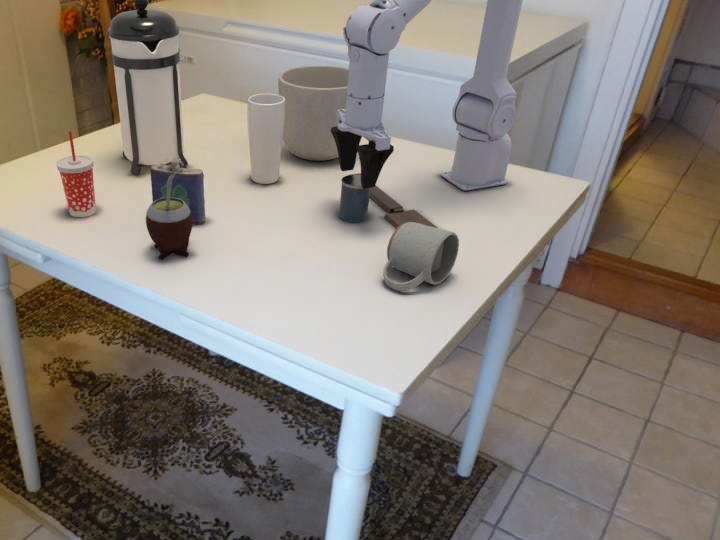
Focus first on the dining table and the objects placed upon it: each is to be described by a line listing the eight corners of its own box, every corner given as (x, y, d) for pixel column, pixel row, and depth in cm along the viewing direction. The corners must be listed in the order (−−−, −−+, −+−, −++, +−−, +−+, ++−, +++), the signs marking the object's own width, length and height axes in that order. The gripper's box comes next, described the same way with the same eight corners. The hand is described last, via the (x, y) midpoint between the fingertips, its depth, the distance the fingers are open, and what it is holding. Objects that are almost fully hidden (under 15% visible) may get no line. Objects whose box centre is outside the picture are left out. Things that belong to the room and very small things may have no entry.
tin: (359, 208, 119) (362, 172, 115) (372, 220, 116) (376, 183, 112) (333, 212, 118) (336, 176, 114) (346, 224, 114) (350, 187, 110)
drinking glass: (279, 188, 127) (282, 105, 117) (244, 185, 128) (244, 103, 119) (285, 174, 132) (288, 94, 123) (251, 171, 133) (251, 92, 124)
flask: (207, 219, 116) (204, 158, 110) (202, 226, 114) (198, 164, 108) (156, 213, 118) (151, 153, 112) (150, 220, 116) (144, 159, 110)
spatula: (366, 176, 130) (367, 171, 130) (440, 234, 111) (441, 228, 111) (340, 180, 129) (340, 175, 128) (410, 239, 110) (411, 234, 109)
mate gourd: (166, 237, 111) (159, 146, 102) (206, 248, 108) (203, 156, 99) (138, 256, 106) (128, 163, 97) (180, 269, 103) (173, 173, 94)
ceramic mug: (407, 255, 106) (414, 209, 101) (455, 273, 101) (464, 226, 96) (368, 282, 100) (373, 234, 95) (416, 302, 95) (424, 253, 90)
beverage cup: (66, 204, 121) (53, 126, 113) (101, 203, 122) (90, 124, 113) (62, 220, 116) (48, 138, 108) (99, 218, 117) (87, 137, 108)
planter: (261, 158, 138) (261, 80, 129) (300, 134, 150) (303, 60, 140) (337, 175, 131) (343, 93, 122) (371, 148, 143) (380, 71, 133)
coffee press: (209, 156, 139) (203, -8, 121) (161, 183, 129) (147, 7, 111) (143, 141, 147) (128, -16, 129) (93, 165, 136) (69, -3, 118)
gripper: (321, 83, 109) (317, 165, 117) (364, 110, 98) (355, 199, 106) (361, 79, 111) (353, 160, 119) (407, 105, 100) (395, 192, 108)
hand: (357, 178), depth 113 cm, fingers open, 7 cm apart
